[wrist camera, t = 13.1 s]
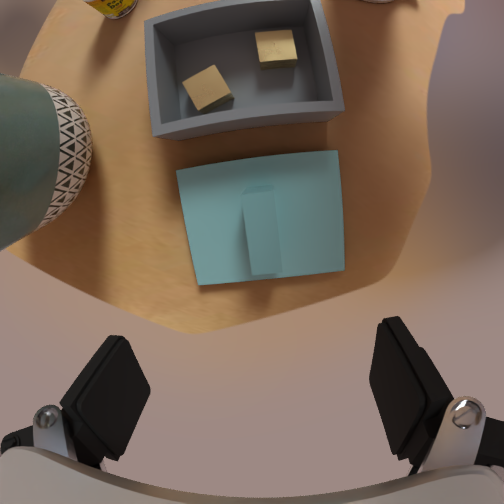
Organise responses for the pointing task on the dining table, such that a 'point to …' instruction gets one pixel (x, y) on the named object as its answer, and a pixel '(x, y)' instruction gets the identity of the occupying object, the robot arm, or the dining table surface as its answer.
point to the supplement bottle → (112, 7)
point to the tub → (240, 67)
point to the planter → (38, 155)
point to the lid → (264, 217)
